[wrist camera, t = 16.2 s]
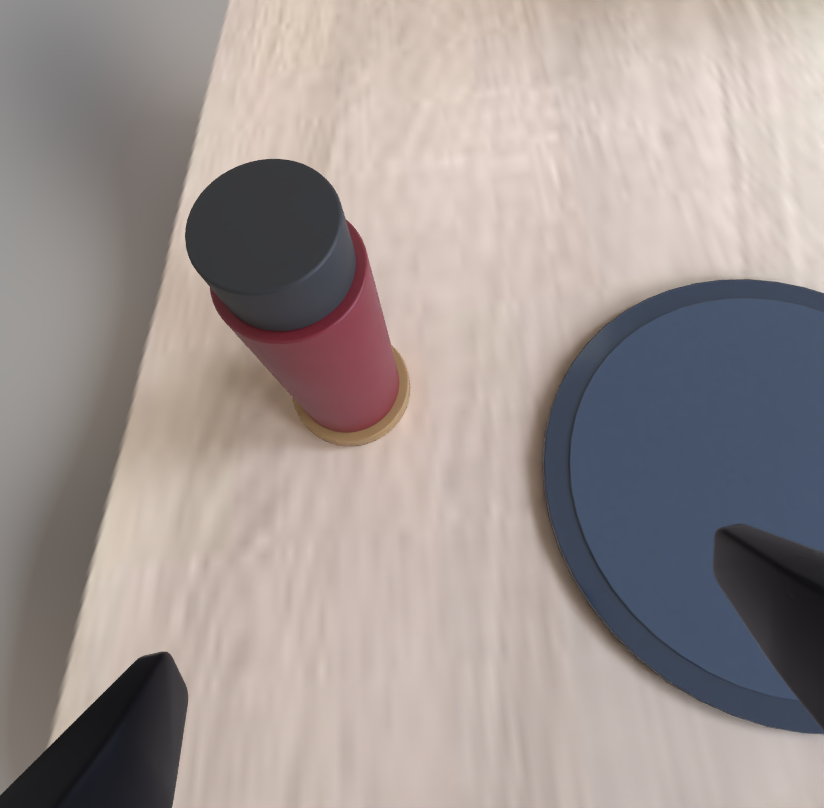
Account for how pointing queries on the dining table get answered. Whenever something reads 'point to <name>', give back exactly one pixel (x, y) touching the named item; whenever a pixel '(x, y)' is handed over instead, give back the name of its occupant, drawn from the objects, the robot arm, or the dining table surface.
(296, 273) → the capped red bottle
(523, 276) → the dining table surface
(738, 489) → the plate
